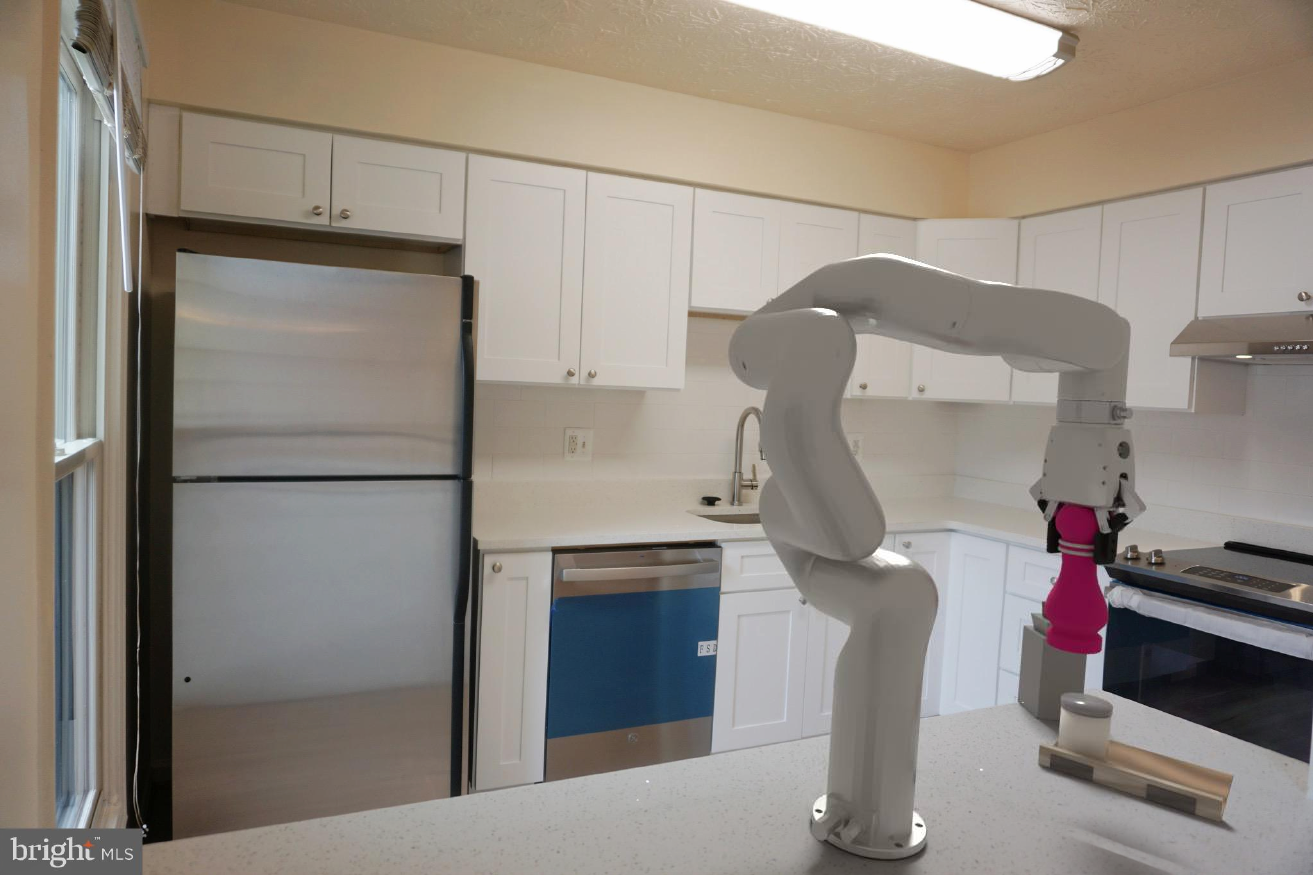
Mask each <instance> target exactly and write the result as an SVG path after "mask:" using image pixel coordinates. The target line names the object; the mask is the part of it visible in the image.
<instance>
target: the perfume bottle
mask: <svg viewBox="0 0 1313 875" xmlns="http://www.w3.org/2000/svg"><path fill="white" fill-rule="evenodd" d="M1045 602H1046V600H1042V601H1041V613H1040V612H1038V613H1037V612H1031V613H1030V615H1031V620H1032V621H1031V622H1032V625H1024V624H1023V628H1022V642H1021V654H1020V667H1019V679H1018V680H1019V681H1018V690H1017V691H1018V693H1017V702H1018V704H1020V705H1021V706H1022V707H1023V708H1025V709H1026V711H1028V712H1029V713H1030V714H1031V715H1032V716H1033V717H1034V718H1035V719H1038V720H1053V721H1054V720H1055V721H1060V715H1061V696H1062V695H1063V694H1065V693H1082V694H1085V683H1086V682H1085V681H1086V670H1087V657H1088V654H1077V653H1071V652H1066V651H1062V650H1059V649H1056V648H1054V647H1052V646H1050V645H1049V644H1048V643H1047V641H1046V639H1047V629H1048V628H1049V627H1051V626H1052V624H1051V623H1050V621H1049V620H1048V619H1047V617H1046V615H1045V613H1044V607H1045ZM1022 702H1024V703H1022Z"/></svg>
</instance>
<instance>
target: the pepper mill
mask: <svg viewBox="0 0 1313 875" xmlns="http://www.w3.org/2000/svg"><path fill="white" fill-rule="evenodd" d="M1056 528H1057V530H1058V532H1059V533H1060V534H1061V536H1062V539H1059V543H1060V544H1059V547H1058V549H1059V550H1060V551H1061V552H1062V553H1061V566H1060V572H1059V575H1058V578H1057V579H1056V581H1055V583H1054V585H1053V586H1052V588H1051V589H1050V591H1049V593H1048V594H1047V597H1046V600H1045V601H1046V602H1045V607H1044V613H1045V615H1046V617H1047V619H1048V620H1049V621H1050V623H1051V624H1052V626H1051V627H1049V628H1048V629H1047V639H1046V641H1047V643H1048V644H1049V645H1050V646H1052V647H1054V648H1056V649H1059V650H1062V651H1066V652H1071V653H1077V654H1087V655H1096V654H1099V653H1101V652H1102V650H1103V637H1102V635H1101V634H1099V632H1100V631H1101V630H1102V629H1103V628H1104V627H1106V626H1107V624H1108V622H1109V608H1108V604H1107V600H1106V598H1105V596H1104V594H1103V591H1102V589H1101V585H1100V584H1099V579H1098V578H1099V577H1098V565H1097V564H1094V562H1093V553H1094V539H1095V533H1096V532H1100V528H1099V524H1098V520H1097V516H1096V513H1095V509H1094V508H1090V507H1084V506H1078V505H1072V504H1067V505H1066V506H1064V507H1062V508H1061V509H1060V511H1059V512H1058V514H1057V516H1056Z"/></svg>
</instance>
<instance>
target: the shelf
mask: <svg viewBox="0 0 1313 875" xmlns="http://www.w3.org/2000/svg"><path fill="white" fill-rule="evenodd" d="M1038 747H1039V749H1038V760H1037V764H1038V765H1041V766H1044V767H1048V768H1049V769H1051V770H1055V771H1059V772H1061V773H1065V774H1068V775H1071V776H1074V777H1077V778H1081V779H1083V780H1087V781H1090V782H1094V783H1096V784H1097V783H1098V784H1101V785H1103V786H1107V787H1110V788H1112V789H1116V790H1119V791H1122V792H1126V793H1129V794H1130V795H1131V794H1132V795H1135V796H1137V797H1142V798H1144V799H1145V800H1149V801H1152V802H1154V803H1158V804H1162V805H1164V806H1167V807H1170V808H1173V809H1176V810H1180V811H1184V812H1187V813H1189V814H1192V815H1197V816H1200V817H1203V818H1207V819H1210V820H1213V821H1216V822H1218V823H1221V821H1222V817H1223V814H1224V811H1225V807H1226V803H1227V799H1228V795H1229V792H1230V789H1231V784H1232V782H1233V778H1234V775H1233V774H1229V773H1226V772H1224V771H1220V770H1216V769H1212V768H1210V767H1205V766H1201V765H1198V764H1194V763H1192V762H1188V761H1185V760H1181V759H1177V758H1173V757H1171V756H1167V755H1164V754H1160V753H1156V752H1153V751H1149V750H1146V749H1142V748H1138V747H1135V746H1134V745H1133V746H1132V745H1129V744H1125V743H1122V742H1119V741H1114V740H1111V739H1109V750H1108V761H1107V762H1103V761H1100V760H1097V759H1093V758H1090V757H1087V756H1084V755H1080V754H1077V753H1074V752H1070V751H1067V750H1064V749H1061V748H1058V740H1056V742H1054V744H1053V745H1050V744H1047V743H1044V742H1040V744H1039V746H1038Z"/></svg>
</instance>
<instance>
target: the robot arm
mask: <svg viewBox="0 0 1313 875" xmlns="http://www.w3.org/2000/svg"><path fill="white" fill-rule="evenodd" d="M1131 329H1132V327H1131V324H1130V322H1129V320H1128V319H1127V318H1126V317H1123V316H1120V314H1119V313H1118V312H1117V311H1115V310H1114V309H1113V308H1112V307H1110V306H1108V305H1106V304H1104V303H1102V302H1098V301H1094V300H1091V299H1088V298H1086V297H1083V296H1079V295H1076V294H1072V293H1067V292H1062V291H1057V290H1050V289H1042V288H1037V287H1036V288H1035V287H1028V286H1020V285H1015V284H1009V283H1004V282H996V281H988V280H981V279H974V278H971V277H968V276H964V275H961V274H958V273H955V272H951V271H948V270H944V269H942V268H938V267H934V266H931V265H928V264H927V263H926V264H925V263H921V262H918V261H916V260H912V259H908V258H907V257H906V258H905V257H902V256H899V255H895V254H889V253H875V254H874V253H873V254H867V255H862V256H858V257H853V258H848V259H845V260H844V259H843V260H840V261H836V262H831V263H828V264H825V265H824V266H822V267H820V268H818V269H817V270H815V271H814V272H811V273H810V274H808V275H807V276H805V277H804V278H802V279H801V280H799V281H798V282H797V283H795V284H793V285H792V286H791V287H789V288H788V289H786V290H785V291H784V292H782V293H780V294H779V295H778V296H776V297H775V298H774V299H772V300H771V301H769V302H767V303H766V304H765V305H763V306H762V307H760V308H758V309H757V310H756V311H754V312H753V313H751V314H750V315H748V316H747V317H746V318H744V319H743V320H742V322H740V324H739V325H738V326H736V328H735V330H734V331H733V333H732V335H731V337H730V341H729V345H728V349H727V353H728V354H727V356H728V357H727V358H728V361H729V366H730V367H731V370H732V373H733V374H734V375H735V376H736V378H738V380H739V381H741V383H743V384H744V385H747V386H748V387H750V388H753V389H756V390H761V391H766V395H765V398H764V402H763V408H762V412H761V417H760V424H759V443H760V447H761V451H762V454H763V457H764V459H765V462H766V464H767V466H768V468H769V470H770V473H772V474H771V475H770V476H769V477H768V478H767V480H766V481H765V482H764V484H763V486H762V487H761V490H760V494H759V499H758V516H759V521H760V525H761V527H762V530H763V532H764V534H765V536H766V538H767V540H768V541H769V543H770V545H771V547H772V549H773V550H774V552H775V553H776V555H777V557H778V559H779V560H780V562H781V564H782V565H783V567H784V569H785V571H786V572H787V573H788V574H787V575H789V577H790V579H791V580H792V582H793V584H794V586H795V587H796V589H797V591H798V592H799V593H800V594H801V597H803V598H804V600H805V601H806V602H807V603H808V604H809V605H811V607H813V608H814V609H815V610H817V611H819V612H820V613H822V614H824V615H827V616H829V618H832V619H835V620H836V621H838V622H840V623H843V624H844V625H846V626H848V627H849V630H850V631H849V634H848V636H847V639H846V641H845V643H844V645H843V646H842V648H841V650H840V652H839V653H838V656H837V659H836V662H835V667H834V674H833V683H832V684H833V685H832V686H833V688H832V690H833V691H832V692H833V693H832V705H831V706H832V707H831V708H832V709H831V719H830V720H831V722H830V736H829V739H830V740H829V752H828V764H827V765H828V768H827V785H826V794H823V795H821V796H820V797H818V798H817V799H816V800H815V802H814V803H813V804H812V807H811V815H810V816H811V823H812V824H811V830H810V831H811V833H812V835H813V836H814V838H815V839H817V840H819V841H825V840H826V841H827V842H829V843H830V844H832V845H834V846H836V847H837V848H839V849H841V850H844V851H846V852H848V853H851V854H854V855H858V856H861V857H865V858H866V857H867V858H871V859H879V860H896V859H897V860H898V859H902V858H907V857H911V856H913V855H915V854H917V853H919V852H920V851H921V850H922V849H923V848H925V845H926V843H927V835H928V828H927V825H926V823H925V822H924V820H923V818H922V817H921V816H920V815H919V813H917V812H916V811H915V810H914V809H915V808H914V807H915V805H914V804H915V796H916V795H915V793H916V782H917V781H916V779H917V766H918V752H919V751H918V750H919V740H920V738H919V737H920V726H921V713H922V695H923V682H924V681H923V680H924V670H925V664H926V658H927V651H928V646H929V642H930V639H931V635H932V632H933V629H934V627H935V626H934V625H935V623H936V618H937V615H938V610H939V592H938V588H937V585H936V582H935V580H934V579H933V577H932V575H931V574H930V572H928V571H927V569H926V568H925V567H924V566H922V564H920V563H918V562H917V561H915V560H914V559H912V558H910V557H908V556H906V555H903V554H900V553H898V552H895V551H891V550H887V549H885V548H881V546H882V544H883V543H884V540H885V536H886V534H887V533H886V532H887V524H886V523H887V522H886V517H885V513H884V511H883V507H882V505H881V502H880V500H879V498H878V497H877V495H876V493H875V491H874V490H873V488H872V486H871V483H870V482H869V480H868V478H867V477H866V475H865V473H864V471H863V469H862V467H861V465H860V463H859V461H858V458H857V457H856V455H855V454H854V452H853V450H852V448H851V446H850V443H849V441H848V439H847V437H846V434H845V432H844V429H843V427H842V419H841V417H842V416H841V415H842V413H841V411H842V410H841V409H842V404H843V400H844V399H843V398H844V396H845V391H846V389H847V386H848V383H849V380H850V378H851V375H852V372H853V371H854V367H855V364H856V361H857V355H858V354H857V353H858V350H857V348H858V346H857V338H856V335H873V336H874V335H875V336H879V337H880V336H881V337H885V338H888V339H893V340H898V341H901V342H907V343H911V344H913V345H914V344H915V345H919V346H922V347H926V348H928V349H929V348H930V349H932V350H933V349H934V350H938V351H941V352H944V353H951V354H955V355H963V356H964V355H965V356H972V357H973V356H976V357H1001V359H1002V360H1003V361H1004V362H1005V363H1006V364H1007V365H1008V366H1010V367H1011V368H1012V369H1014V370H1017V371H1020V372H1023V373H1030V374H1031V373H1036V374H1037V373H1038V374H1042V373H1044V374H1051V373H1052V374H1053V373H1058V379H1057V380H1058V382H1057V394H1056V396H1057V397H1056V398H1057V400H1056V412H1055V424H1051V426H1050V427H1051V428H1050V430H1049V433H1048V434H1049V435H1048V436H1047V437H1048V438H1047V442H1046V445H1045V451H1044V456H1043V463H1042V470H1041V471H1042V472H1041V477H1040V478H1039V479H1038V480H1037V481H1036V482H1035V483H1034V484H1033V485H1032V486H1031V487H1030V488H1029V494H1030V495H1031V497H1032V498H1033V499H1034V501H1035V502H1036V503H1037V505H1036V506H1037V507H1038V509H1039V510H1040V511H1041V513H1042V514H1043V520H1044V522H1047V529H1046V530H1047V533H1046V549H1045V551H1046V553H1048V554H1060V553H1061V554H1062V552H1061V551H1060V550H1059V549H1058V547H1059V544H1060V543H1059V539H1062V536H1061V534H1060V533H1059V532H1058V530H1057V528H1056V516H1057V514H1058V512H1059V511H1060V509H1061V508H1062V507H1064V506H1066V505H1067V504H1072V505H1078V506H1084V507H1090V508H1094V509H1095V513H1096V516H1097V520H1098V524H1099V528H1100V532H1096V533H1095V539H1094V553H1093V562H1094V564H1097V566H1103V565H1113V564H1115V562H1116V558H1117V552H1118V543H1119V542H1118V541H1119V533H1122V532H1123V531H1124V530H1125V528H1126V527H1127V526H1128V525H1129V524H1131V523H1132V522H1133V521H1134V519H1136V518H1138V517H1140V515H1141V514H1142V513H1144V512H1146V510H1147V505H1146V504H1145V502H1144V501H1143V500H1142V499H1141V497H1140V496H1139V495H1138V493H1137V492H1136V459H1135V448H1134V446H1135V445H1134V440H1133V435H1132V431H1131V428H1125V422H1126V420H1130V419H1132V418H1133V416H1134V411H1133V409H1132V408H1131V407H1127V402H1126V401H1127V387H1128V376H1129V360H1130V347H1131V346H1130V345H1131V337H1132V336H1131V335H1132V332H1131V331H1132V330H1131ZM1120 509H1122V510H1121V511H1120Z"/></svg>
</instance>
